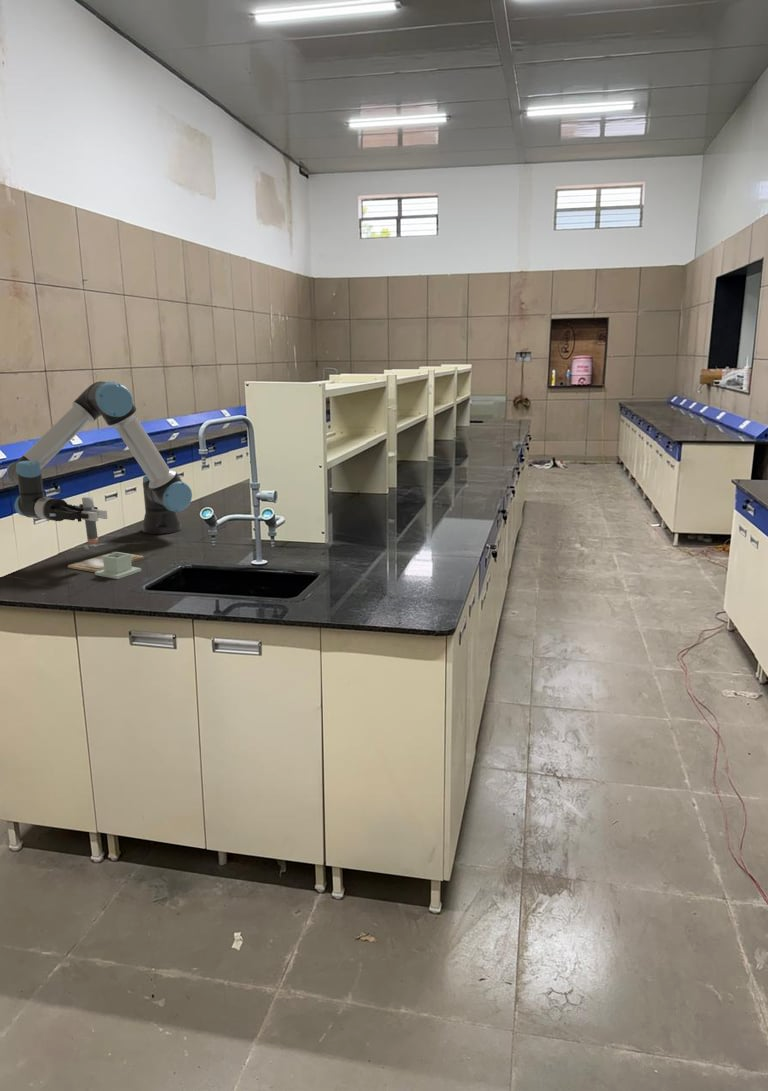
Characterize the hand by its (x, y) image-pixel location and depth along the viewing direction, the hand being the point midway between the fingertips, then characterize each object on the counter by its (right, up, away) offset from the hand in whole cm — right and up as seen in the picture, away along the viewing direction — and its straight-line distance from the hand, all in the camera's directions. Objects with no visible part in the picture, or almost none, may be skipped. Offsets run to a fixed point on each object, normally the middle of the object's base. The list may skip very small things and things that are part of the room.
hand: (101, 515), depth 239 cm
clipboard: (-3, -16, +12) cm, 20 cm away
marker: (-5, -9, +5) cm, 11 cm away
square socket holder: (+6, -19, 0) cm, 19 cm away
